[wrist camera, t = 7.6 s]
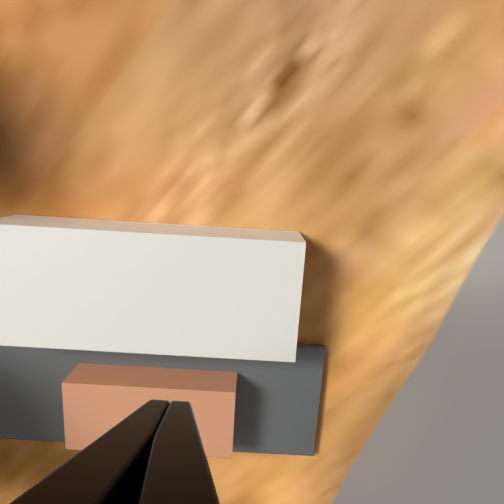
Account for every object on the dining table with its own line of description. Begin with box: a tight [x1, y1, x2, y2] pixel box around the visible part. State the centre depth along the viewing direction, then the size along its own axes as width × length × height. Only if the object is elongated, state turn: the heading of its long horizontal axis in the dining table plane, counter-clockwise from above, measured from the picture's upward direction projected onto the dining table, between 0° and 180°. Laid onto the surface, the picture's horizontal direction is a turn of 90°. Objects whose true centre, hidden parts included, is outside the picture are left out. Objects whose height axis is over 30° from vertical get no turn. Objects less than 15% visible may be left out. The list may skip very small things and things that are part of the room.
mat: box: [0, 344, 325, 456], centre depth 22 cm, size 19×7×1 cm, turn 87°
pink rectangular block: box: [62, 363, 237, 458], centre depth 21 cm, size 9×4×2 cm, turn 87°
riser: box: [0, 214, 306, 362], centre depth 20 cm, size 15×6×3 cm, turn 87°
